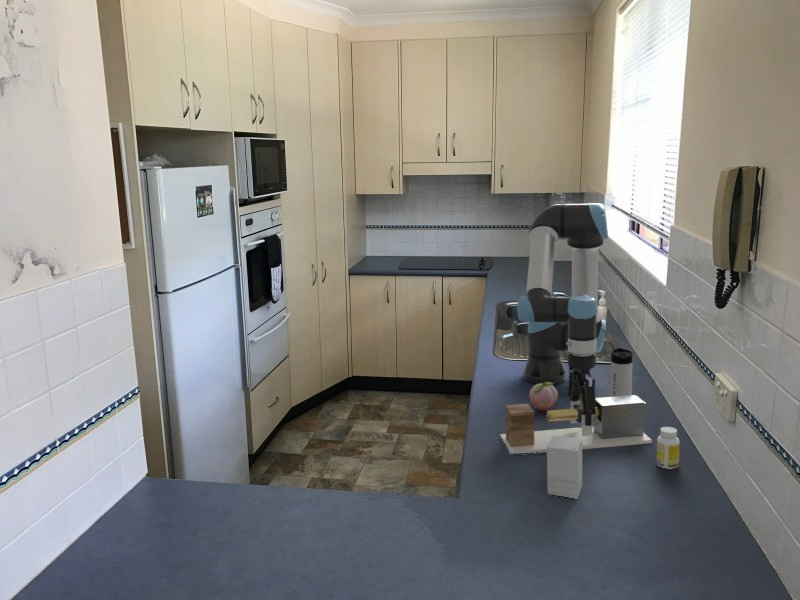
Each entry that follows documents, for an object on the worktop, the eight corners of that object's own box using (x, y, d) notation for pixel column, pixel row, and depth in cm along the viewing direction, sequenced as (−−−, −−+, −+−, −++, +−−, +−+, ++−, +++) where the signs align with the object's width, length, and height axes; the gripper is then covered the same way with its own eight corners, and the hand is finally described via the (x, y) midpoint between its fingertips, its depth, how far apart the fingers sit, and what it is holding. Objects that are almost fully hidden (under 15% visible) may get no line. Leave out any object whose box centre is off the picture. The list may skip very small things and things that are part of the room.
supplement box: (583, 486, 160) (583, 438, 158) (577, 500, 154) (578, 451, 151) (552, 481, 163) (552, 434, 161) (546, 495, 157) (546, 446, 154)
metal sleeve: (593, 430, 189) (594, 398, 187) (635, 427, 190) (636, 394, 188) (602, 439, 183) (602, 405, 181) (645, 435, 184) (646, 402, 182)
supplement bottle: (680, 463, 169) (682, 427, 167) (676, 471, 165) (677, 435, 163) (658, 458, 172) (660, 424, 170) (654, 467, 168) (655, 431, 166)
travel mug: (628, 408, 207) (629, 347, 203) (633, 416, 200) (635, 353, 196) (607, 408, 208) (609, 347, 203) (612, 416, 201) (613, 354, 197)
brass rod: (546, 420, 186) (546, 407, 185) (634, 412, 188) (635, 399, 187) (550, 425, 182) (550, 411, 181) (640, 417, 184) (640, 404, 183)
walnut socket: (506, 438, 187) (505, 405, 185) (528, 436, 188) (527, 403, 185) (511, 447, 181) (510, 413, 179) (534, 445, 182) (534, 411, 180)
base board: (500, 437, 190) (500, 434, 190) (632, 426, 193) (632, 423, 193) (510, 455, 178) (510, 452, 178) (651, 443, 181) (651, 439, 181)
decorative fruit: (538, 403, 214) (538, 374, 212) (561, 408, 209) (561, 379, 207) (523, 412, 207) (523, 382, 205) (547, 418, 202) (546, 387, 200)
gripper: (556, 343, 190) (556, 415, 195) (582, 365, 170) (581, 445, 175) (581, 341, 191) (580, 413, 196) (610, 362, 170) (608, 443, 175)
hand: (581, 428), depth 185 cm, fingers open, 8 cm apart
